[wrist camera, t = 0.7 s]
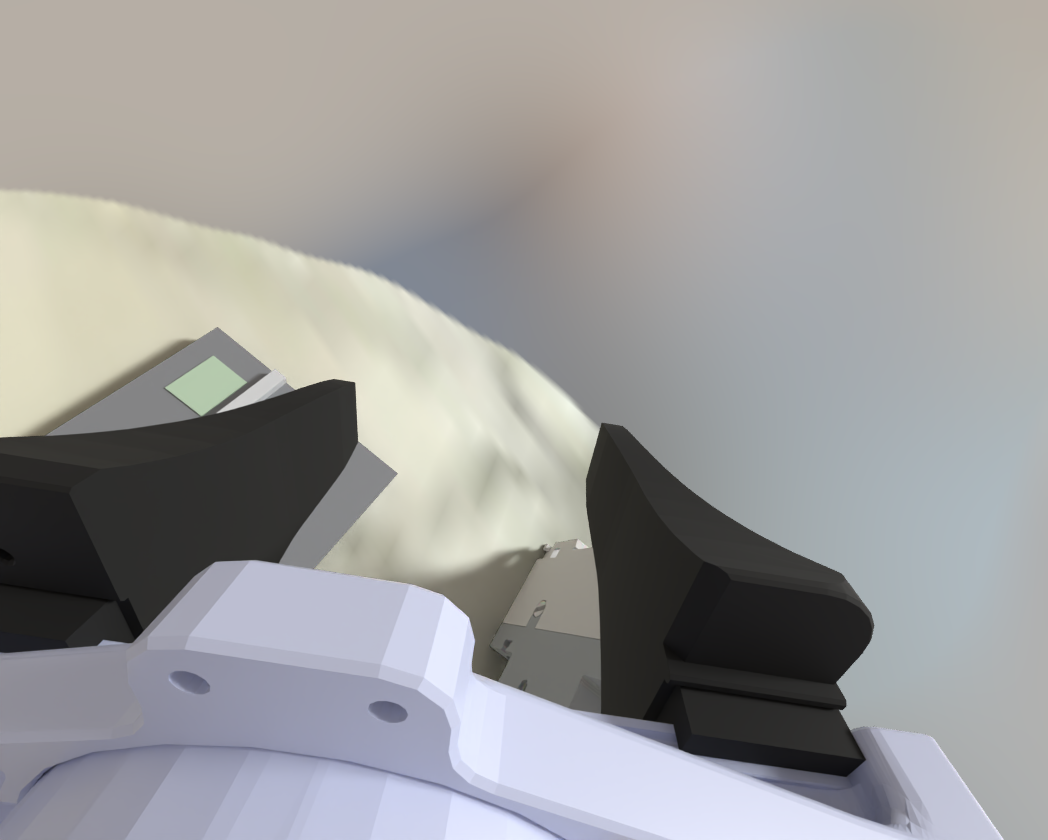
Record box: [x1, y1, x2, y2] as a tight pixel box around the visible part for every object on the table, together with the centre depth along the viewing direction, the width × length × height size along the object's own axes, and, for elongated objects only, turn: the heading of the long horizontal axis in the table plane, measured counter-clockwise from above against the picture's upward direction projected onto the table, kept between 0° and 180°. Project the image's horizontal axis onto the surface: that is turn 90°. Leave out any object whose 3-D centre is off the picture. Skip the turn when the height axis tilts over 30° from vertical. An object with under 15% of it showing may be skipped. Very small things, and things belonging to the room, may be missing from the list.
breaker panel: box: [45, 327, 398, 569], centre depth 22 cm, size 18×14×3 cm
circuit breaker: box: [490, 539, 601, 714], centre depth 23 cm, size 8×14×15 cm, turn 147°
